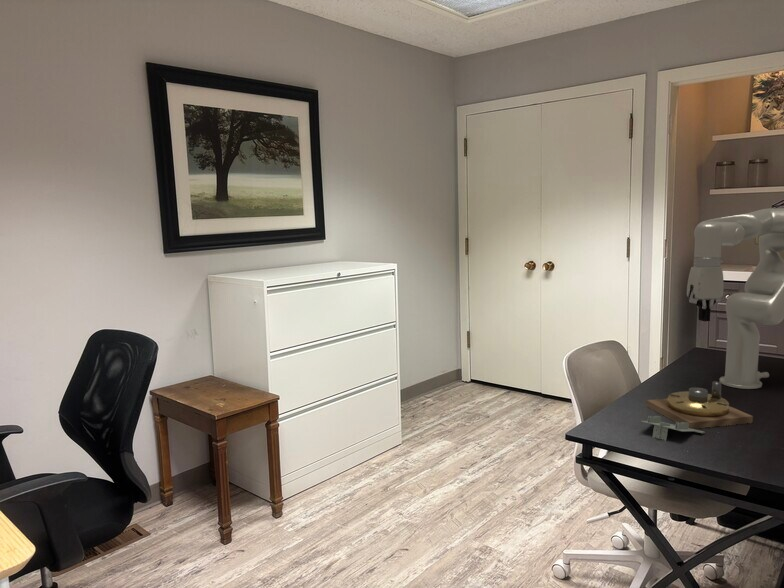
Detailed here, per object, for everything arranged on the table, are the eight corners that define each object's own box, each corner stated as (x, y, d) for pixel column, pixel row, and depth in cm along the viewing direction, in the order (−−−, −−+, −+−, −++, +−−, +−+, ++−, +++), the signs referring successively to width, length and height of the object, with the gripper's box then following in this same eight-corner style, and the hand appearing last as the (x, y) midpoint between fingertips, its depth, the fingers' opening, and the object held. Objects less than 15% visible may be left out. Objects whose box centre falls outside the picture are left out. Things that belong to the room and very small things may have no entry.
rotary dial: (738, 407, 176) (739, 385, 175) (712, 420, 167) (713, 397, 166) (684, 394, 189) (685, 374, 188) (657, 406, 179) (658, 384, 178)
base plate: (703, 400, 190) (703, 394, 189) (752, 422, 170) (752, 415, 170) (646, 406, 186) (646, 399, 186) (690, 429, 166) (690, 422, 166)
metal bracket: (690, 425, 155) (633, 412, 165) (686, 448, 154) (629, 433, 165) (707, 426, 165) (652, 413, 175) (704, 447, 165) (649, 433, 175)
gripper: (719, 261, 193) (716, 317, 195) (678, 262, 190) (675, 319, 192) (737, 263, 185) (733, 321, 188) (694, 265, 182) (691, 324, 185)
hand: (704, 320), depth 190 cm, fingers closed
